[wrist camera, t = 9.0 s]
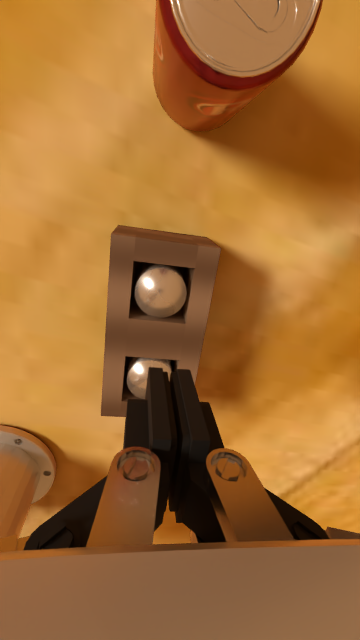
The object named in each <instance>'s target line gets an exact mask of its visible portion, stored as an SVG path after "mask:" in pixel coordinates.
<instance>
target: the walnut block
mask: <svg viewBox="0 0 360 640" xmlns="http://www.w3.org/2000/svg"><path fill="white" fill-rule="evenodd" d="M220 252H221V248H220V247H218V246H217V245H216V244H215V243H213V242H212V241H211V240H209V239H208V238H207V237H201V236H194V235H186V234H179V233H172V232H164V231H157V230H150V229H143V228H135V227H128V226H121V225H118V226H117V228H116V229H115V230H114V231H113V232H112V234H111V247H110V264H109V282H108V299H107V317H106V334H105V352H104V369H103V387H102V404H101V416H115V417H126V410H127V400H128V399H142V398H139V397H137V396H135V395H134V394H133V393H132V392H131V391H130V390H129V388H128V385H127V373H128V364H129V357H142V358H156V359H169V360H170V361H171V368H172V372H176V369H189V370H190V371H191V374H192V378H193V381H194V385H195V381H196V376H197V371H198V366H199V361H200V355H201V350H202V345H203V340H204V335H205V330H206V324H207V319H208V314H209V309H210V304H211V298H212V293H213V288H214V283H215V278H216V272H217V267H218V262H219V257H220ZM142 262H147V263H155V264H164V265H172V266H178V268H179V271H180V273H181V276H182V278H183V280H184V283H185V286H186V291H187V294H186V300H185V302H184V304H183V306H182V307H181V309H180V310H179V311H178V312H176V313H175V314H173V315H171V316H168V317H162V318H159V317H153V316H150V315H148V314H146V313H145V312H144V311H142V310H141V308H140V307H139V306H138V304H137V302H136V299H135V286H136V278H137V271H138V268H139V266H140V265H141V263H142Z"/></svg>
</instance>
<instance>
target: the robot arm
mask: <svg viewBox="0 0 360 640" xmlns="http://www.w3.org/2000/svg"><path fill="white" fill-rule="evenodd" d="M55 475H56V462H55V459H54V457H53V454H52V453H51V451H50V450H49V448H48V447H47V446H46V445H45V444H44V443H43V442H42V441H41V440H39V439H38V438H36V437H35V436H33V435H32V434H29V433H27V432H25V431H23V430H20V429H17V428H13V427H9V426H2V425H0V640H360V534H359V533H354V532H350V531H345V530H340V529H336V528H331V527H327V529H326V531H325V530H323V529H322V528H321V526H319V525H318V524H317V523H316V522H314V521H313V520H312V519H310V518H309V517H307V516H306V515H304V514H303V513H301V512H300V511H298V510H297V509H295V508H294V507H292V506H291V505H289V504H288V503H286V502H285V501H283V500H282V499H280V498H279V497H277V496H276V495H274V494H273V493H271V492H270V491H268V490H267V489H265V488H264V487H263V485H262V484H261V482H260V480H259V478H258V477H257V475H256V473H255V472H254V470H253V468H252V467H251V465H250V463H249V462H248V461H247V459H246V458H245V457H244V456H242V455H241V454H240V453H238V452H236V451H234V450H231V449H227V448H224V445H223V442H222V439H221V436H220V433H219V430H218V427H217V424H216V421H215V418H214V415H213V412H212V410H211V407H210V404H209V403H208V402H199V399H198V395H197V392H196V388H195V385H194V381H193V378H192V374H191V371H190V370H189V369H176V372H171V374H170V381H169V378H168V372H164V371H163V368H157V367H149V369H148V377H147V385H146V394H145V399H128V400H127V410H126V421H125V433H124V446H123V450H121V451H120V452H118V453H117V454H116V455H115V457H114V459H113V461H112V463H111V466H110V470H109V473H108V476H106V477H105V478H104V479H102V480H101V481H100V482H98V483H97V484H96V485H94V486H93V487H92V488H90V489H89V490H87V491H86V492H85V493H83V494H82V495H81V496H79V497H78V498H77V499H75V500H74V501H73V502H71V503H70V504H69V505H67V506H66V507H65V508H63V509H62V510H61V511H59V512H58V513H57V514H55V515H54V516H53V517H51V518H50V519H49V520H47V521H46V522H44V523H43V524H42V525H40V526H39V527H38V528H37V529H36V530H35V531H34V532H33V533H32V534H31V536H27V537H23V538H19V535H20V533H21V530H22V527H23V525H24V522H25V519H26V516H27V514H28V511H29V508H30V506H31V504H33V503H35V502H37V501H38V500H40V499H41V498H42V497H44V496H45V495H46V494H47V492H48V491H49V490H50V488H51V486H52V484H53V481H54V478H55ZM167 500H169V510H170V512H171V511H175V515H176V523H184V524H185V525H186V526H187V527H188V528H189V529H190V538H191V543H186V544H157V545H152V543H153V534H154V531H155V530H156V529H157V528H158V527H159V526H160V525H161V524H162V521H163V516H164V512H165V511H166V506H167ZM18 538H19V539H18Z"/></svg>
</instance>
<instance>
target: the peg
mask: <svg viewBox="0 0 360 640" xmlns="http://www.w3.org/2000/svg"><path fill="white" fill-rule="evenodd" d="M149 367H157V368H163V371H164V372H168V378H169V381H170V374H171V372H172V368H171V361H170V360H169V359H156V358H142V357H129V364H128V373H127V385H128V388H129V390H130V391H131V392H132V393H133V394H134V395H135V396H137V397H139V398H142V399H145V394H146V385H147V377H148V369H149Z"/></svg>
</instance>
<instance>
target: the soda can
mask: <svg viewBox="0 0 360 640" xmlns="http://www.w3.org/2000/svg"><path fill="white" fill-rule="evenodd" d="M322 2H323V0H156V15H155V35H154V56H153V81H154V87H155V90H156V94H157V97H158V99H159V101H160V103H161V106H162V107H163V109H164V110H165V112H166V113H167V114H168V116H169V117H170V118H171V119H172V120H174V121H175V122H176V123H177V124H179V125H180V126H182V127H184V128H187V129H189V130H193V131H209V130H212V129H215V128H218V127H220V126H221V125H223V124H225V123H226V122H227V121H229V120H230V119H231V118H232V117H233V116H234V115H236V114H237V113H238V112H239V111H240V110H241V109H242V108H244V107H245V106H246V105H247V104H248V103H249V102H251V101H252V100H253V99H254V98H255V97H256V96H258V95H259V94H260V93H261V92H262V91H263V90H264V89H266V88H267V87H268V86H269V85H270V84H271V83H273V82H274V81H275V80H276V79H277V78H278V77H280V76H281V75H282V74H283V73H284V72H285V71H286V70H287V69H288V68H289V67H290V66H291V65H293V63H294V62H295V61H296V59H297V58H298V57H299V55H300V54H301V53H302V51H303V50H304V48H305V46H306V45H307V43H308V41H309V39H310V37H311V35H312V33H313V31H314V28H315V25H316V23H317V20H318V17H319V14H320V11H321V7H322Z"/></svg>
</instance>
